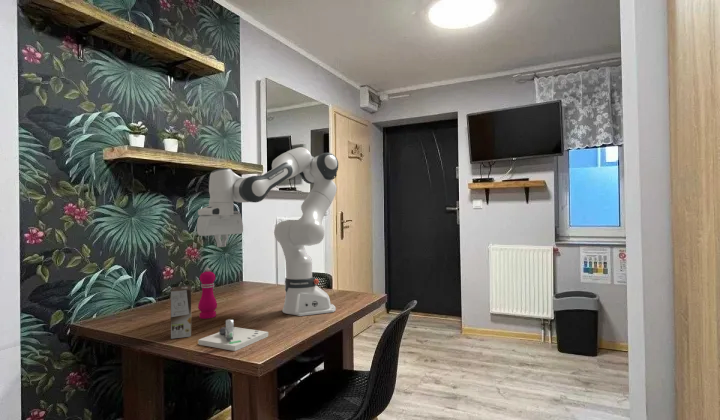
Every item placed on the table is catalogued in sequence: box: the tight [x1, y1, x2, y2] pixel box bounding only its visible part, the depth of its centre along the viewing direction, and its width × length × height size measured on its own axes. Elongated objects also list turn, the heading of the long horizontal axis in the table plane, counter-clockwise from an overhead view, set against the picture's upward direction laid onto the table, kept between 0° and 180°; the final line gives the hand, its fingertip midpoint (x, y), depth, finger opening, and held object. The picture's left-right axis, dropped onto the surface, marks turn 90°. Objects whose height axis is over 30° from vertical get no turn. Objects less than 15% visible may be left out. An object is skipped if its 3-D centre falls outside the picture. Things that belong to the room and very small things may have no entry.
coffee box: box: [170, 285, 192, 340], centre depth 134 cm, size 9×6×16 cm
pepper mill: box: [197, 267, 218, 320], centre depth 158 cm, size 7×7×20 cm
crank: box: [218, 318, 235, 340], centre depth 125 cm, size 11×4×6 cm, turn 26°
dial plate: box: [197, 326, 269, 352], centre depth 126 cm, size 16×15×2 cm
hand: (221, 246), depth 148 cm, fingers closed
